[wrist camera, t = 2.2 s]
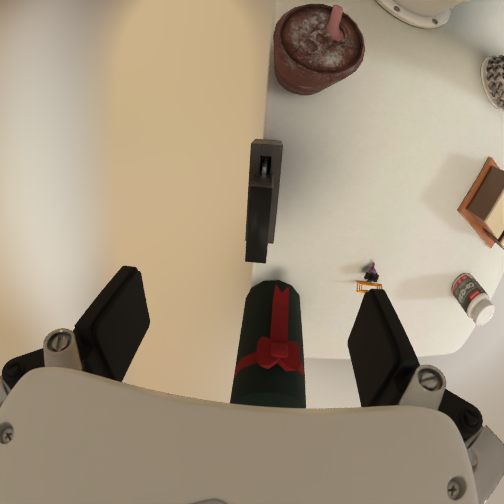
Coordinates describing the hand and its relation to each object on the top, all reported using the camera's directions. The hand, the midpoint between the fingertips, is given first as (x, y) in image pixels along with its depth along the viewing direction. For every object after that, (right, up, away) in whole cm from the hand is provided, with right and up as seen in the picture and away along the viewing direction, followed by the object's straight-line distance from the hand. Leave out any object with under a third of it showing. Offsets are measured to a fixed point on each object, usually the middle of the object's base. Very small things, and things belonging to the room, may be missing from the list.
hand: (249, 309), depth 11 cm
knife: (+2, +10, +20) cm, 23 cm away
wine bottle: (+3, -4, +28) cm, 28 cm away
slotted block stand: (+36, +9, +18) cm, 41 cm away
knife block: (+2, +10, +20) cm, 23 cm away
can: (+6, +22, +14) cm, 27 cm away
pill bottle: (+35, -3, +25) cm, 43 cm away
